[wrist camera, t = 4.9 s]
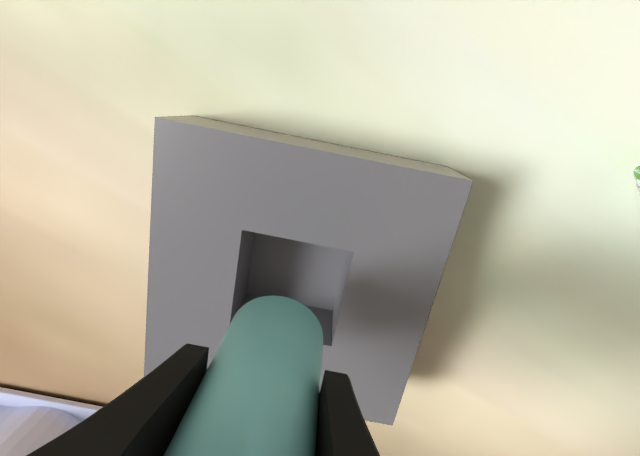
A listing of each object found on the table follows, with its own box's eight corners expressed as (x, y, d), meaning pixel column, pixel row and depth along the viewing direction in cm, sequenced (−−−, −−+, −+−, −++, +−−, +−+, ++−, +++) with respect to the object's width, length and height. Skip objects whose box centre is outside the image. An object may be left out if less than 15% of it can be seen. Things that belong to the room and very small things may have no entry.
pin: (227, 369, 13) (67, 747, 5) (231, 289, 12) (38, 615, 4) (317, 381, 13) (285, 779, 5) (329, 302, 12) (310, 654, 4)
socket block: (175, 334, 20) (143, 377, 17) (191, 115, 17) (155, 117, 13) (383, 374, 21) (392, 425, 17) (446, 166, 17) (473, 180, 13)
